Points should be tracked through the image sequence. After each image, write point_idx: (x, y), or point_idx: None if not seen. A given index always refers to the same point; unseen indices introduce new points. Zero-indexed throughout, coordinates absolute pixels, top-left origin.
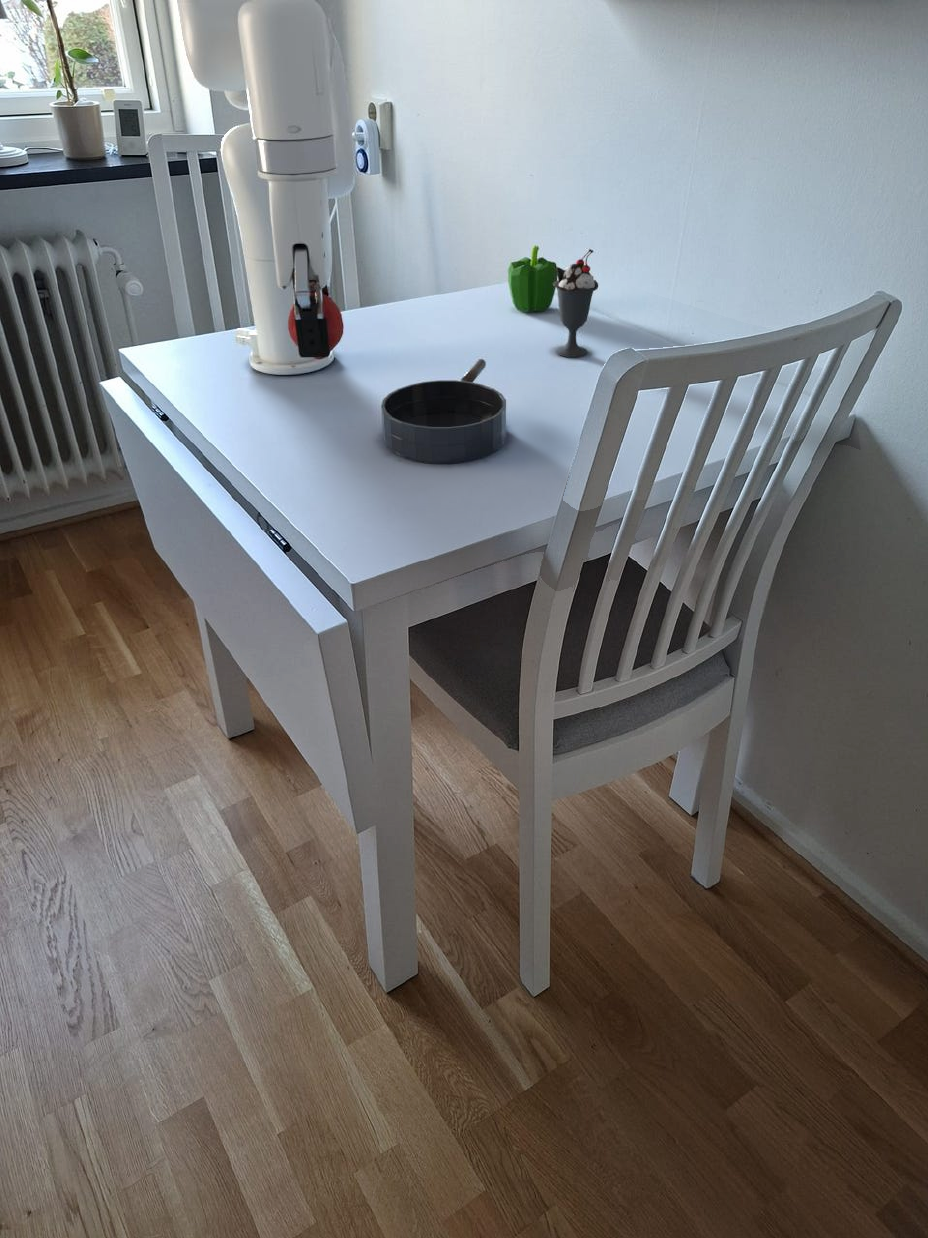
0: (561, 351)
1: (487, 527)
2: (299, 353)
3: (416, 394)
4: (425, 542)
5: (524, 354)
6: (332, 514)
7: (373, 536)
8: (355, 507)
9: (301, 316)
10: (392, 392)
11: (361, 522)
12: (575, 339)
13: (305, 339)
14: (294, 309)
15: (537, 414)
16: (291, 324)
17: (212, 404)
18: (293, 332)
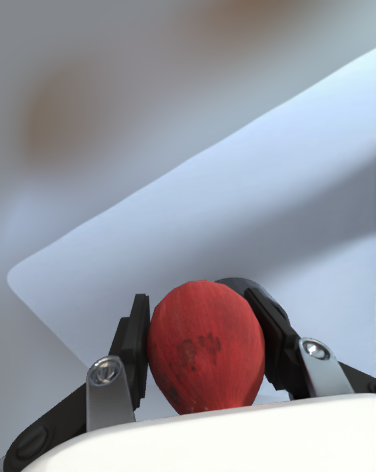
0: None
1: (84, 350)
2: (135, 296)
3: (279, 312)
4: (59, 316)
5: (367, 364)
6: (98, 250)
7: (65, 282)
8: (111, 266)
9: (83, 386)
10: (271, 301)
11: (86, 272)
12: None
13: (116, 332)
14: (183, 343)
15: None
16: (172, 310)
17: (348, 101)
18: (165, 303)
